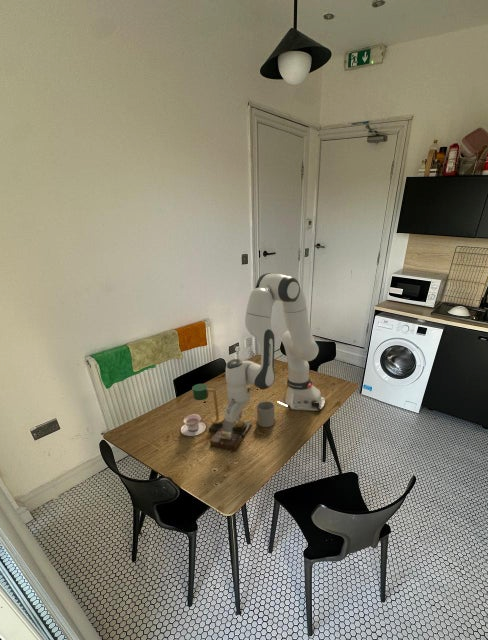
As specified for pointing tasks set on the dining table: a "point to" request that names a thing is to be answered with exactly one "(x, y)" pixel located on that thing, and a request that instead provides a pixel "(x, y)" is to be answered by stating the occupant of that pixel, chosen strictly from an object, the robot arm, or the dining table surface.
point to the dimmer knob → (225, 435)
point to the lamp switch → (239, 423)
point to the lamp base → (231, 427)
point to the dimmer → (226, 441)
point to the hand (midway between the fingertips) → (238, 419)
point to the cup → (265, 414)
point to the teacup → (192, 425)
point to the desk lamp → (202, 393)
